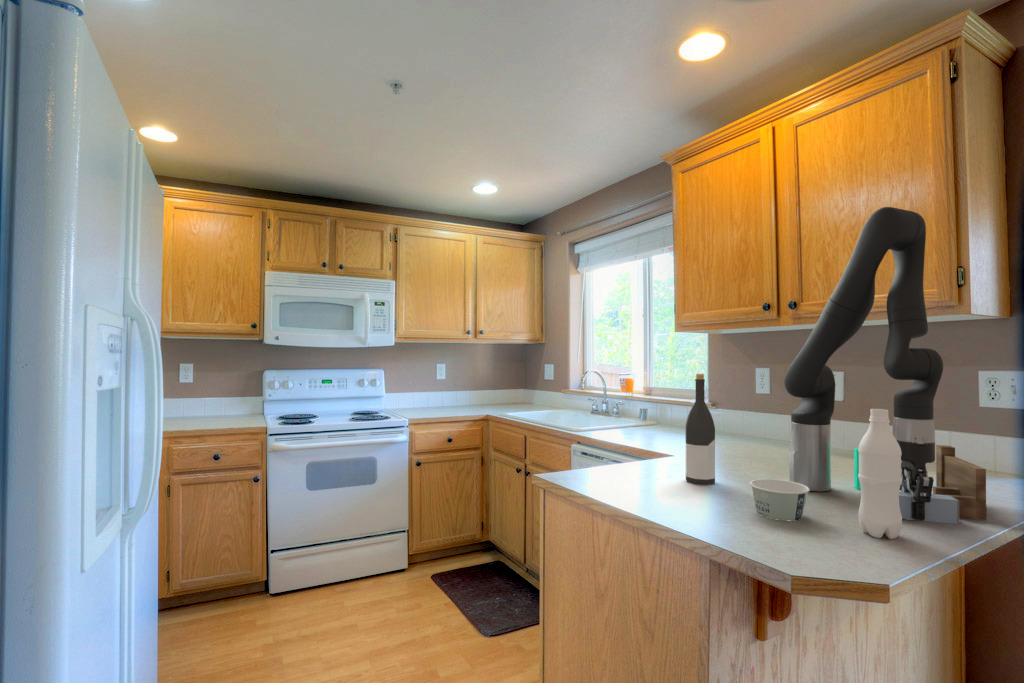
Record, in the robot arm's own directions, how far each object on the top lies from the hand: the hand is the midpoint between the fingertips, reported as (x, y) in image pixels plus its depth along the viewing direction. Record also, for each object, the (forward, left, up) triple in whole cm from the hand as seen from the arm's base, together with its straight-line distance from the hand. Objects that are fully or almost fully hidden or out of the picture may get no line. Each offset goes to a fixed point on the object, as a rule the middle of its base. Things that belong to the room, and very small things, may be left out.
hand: (913, 515), depth 117 cm
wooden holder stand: (+11, +11, 0) cm, 16 cm away
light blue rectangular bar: (0, 0, 0) cm, 0 cm away
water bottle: (-11, -15, -1) cm, 19 cm away
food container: (-28, -7, -1) cm, 29 cm away
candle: (-2, +24, -1) cm, 24 cm away
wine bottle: (-44, +18, -1) cm, 48 cm away
